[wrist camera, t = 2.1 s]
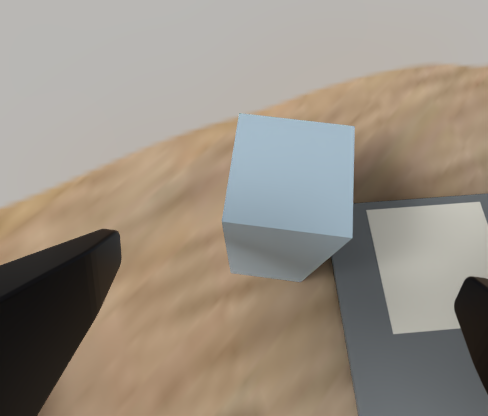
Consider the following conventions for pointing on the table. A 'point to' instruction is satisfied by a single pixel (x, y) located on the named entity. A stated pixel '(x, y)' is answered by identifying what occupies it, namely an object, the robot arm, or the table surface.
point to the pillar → (288, 196)
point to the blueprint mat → (412, 304)
